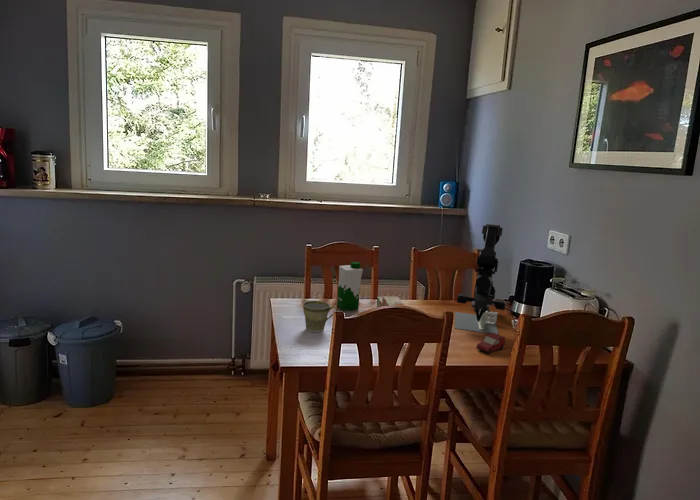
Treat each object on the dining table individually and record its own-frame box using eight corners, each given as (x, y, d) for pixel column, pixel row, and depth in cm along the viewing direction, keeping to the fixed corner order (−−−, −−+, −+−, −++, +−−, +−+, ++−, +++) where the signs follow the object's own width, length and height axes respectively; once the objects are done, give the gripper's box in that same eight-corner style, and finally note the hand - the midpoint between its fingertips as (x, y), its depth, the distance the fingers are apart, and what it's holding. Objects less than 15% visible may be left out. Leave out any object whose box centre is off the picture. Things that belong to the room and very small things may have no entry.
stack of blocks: (375, 317, 218) (377, 289, 216) (389, 318, 219) (392, 289, 217) (386, 337, 197) (389, 305, 195) (402, 337, 198) (405, 306, 196)
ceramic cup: (302, 334, 193) (304, 308, 191) (300, 324, 202) (302, 300, 200) (337, 335, 195) (339, 309, 193) (334, 325, 204) (335, 301, 202)
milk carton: (361, 310, 226) (365, 265, 222) (341, 311, 222) (345, 265, 218) (352, 303, 233) (356, 260, 229) (333, 305, 230) (337, 260, 225)
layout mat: (454, 312, 233) (454, 311, 233) (494, 317, 231) (494, 316, 231) (455, 328, 212) (455, 328, 212) (498, 334, 209) (498, 334, 209)
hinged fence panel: (479, 321, 221) (480, 311, 221) (482, 322, 221) (483, 312, 220) (481, 328, 214) (482, 317, 213) (484, 328, 214) (485, 318, 213)
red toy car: (474, 350, 192) (476, 337, 191) (492, 344, 199) (493, 331, 198) (488, 355, 188) (490, 342, 187) (505, 349, 195) (507, 336, 194)
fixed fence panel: (478, 322, 222) (479, 310, 221) (478, 321, 224) (479, 309, 223) (495, 324, 221) (497, 312, 220) (495, 323, 223) (497, 311, 222)
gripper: (458, 285, 207) (453, 323, 210) (507, 293, 202) (501, 331, 205) (460, 279, 217) (455, 315, 220) (507, 286, 212) (501, 323, 216)
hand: (478, 321), depth 215 cm, fingers closed
